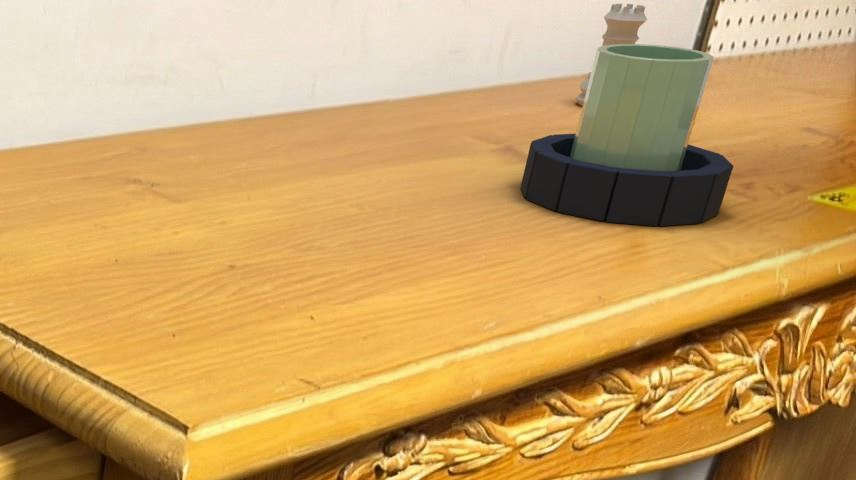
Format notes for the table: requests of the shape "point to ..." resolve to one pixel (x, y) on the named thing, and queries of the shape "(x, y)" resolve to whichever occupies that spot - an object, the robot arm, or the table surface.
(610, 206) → the ring
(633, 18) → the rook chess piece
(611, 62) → the cup
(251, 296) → the table surface
